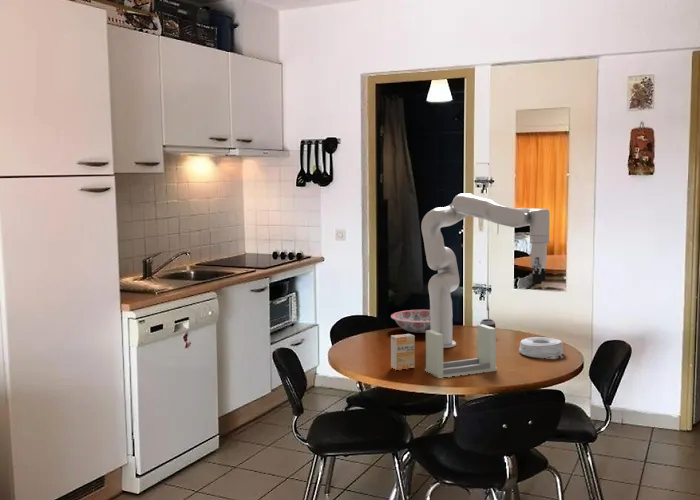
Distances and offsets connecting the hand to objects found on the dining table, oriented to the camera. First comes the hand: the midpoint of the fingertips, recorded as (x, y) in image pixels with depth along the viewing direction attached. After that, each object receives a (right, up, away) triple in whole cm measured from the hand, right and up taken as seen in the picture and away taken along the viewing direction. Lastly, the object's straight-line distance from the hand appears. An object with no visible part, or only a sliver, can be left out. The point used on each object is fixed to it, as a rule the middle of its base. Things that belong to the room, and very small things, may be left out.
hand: (539, 281), depth 292 cm
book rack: (-34, -33, -17) cm, 51 cm away
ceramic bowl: (-42, -26, +53) cm, 72 cm away
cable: (+2, -30, +6) cm, 31 cm away
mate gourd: (-14, -27, +38) cm, 49 cm away
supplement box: (-56, -33, -12) cm, 66 cm away
